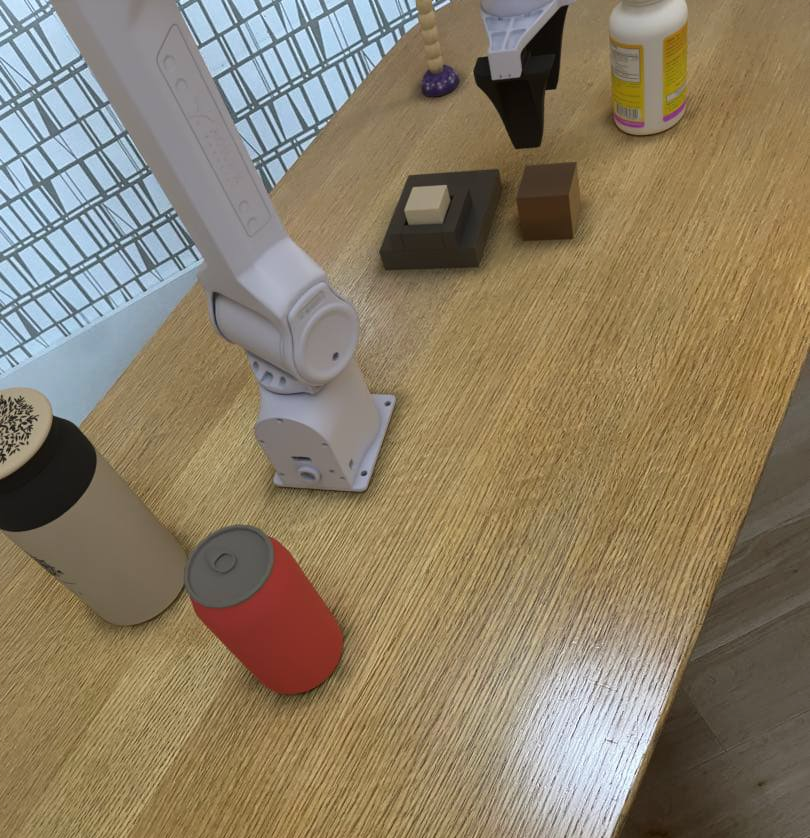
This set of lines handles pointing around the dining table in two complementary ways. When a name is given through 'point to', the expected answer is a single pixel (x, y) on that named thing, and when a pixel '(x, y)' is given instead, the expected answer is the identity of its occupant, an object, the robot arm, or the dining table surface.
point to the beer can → (263, 608)
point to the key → (427, 205)
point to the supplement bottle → (648, 64)
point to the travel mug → (81, 515)
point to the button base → (444, 223)
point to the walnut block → (549, 201)
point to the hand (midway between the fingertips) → (536, 116)
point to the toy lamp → (434, 55)
